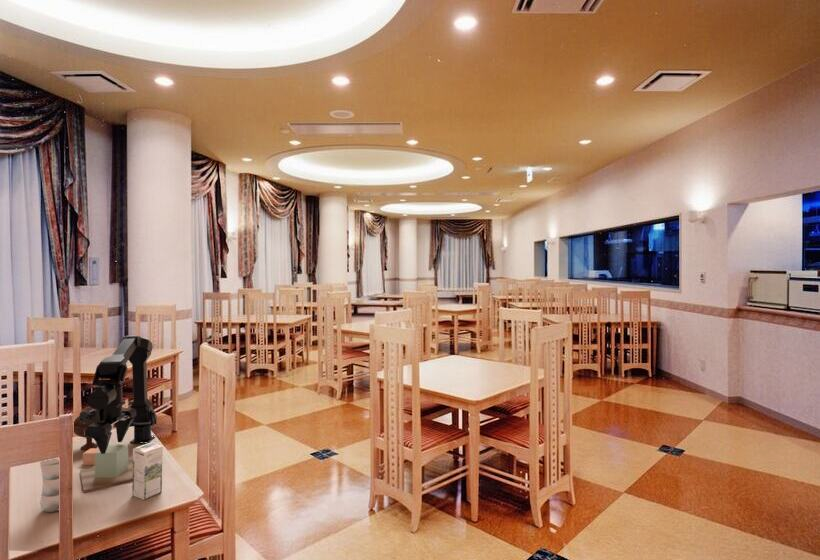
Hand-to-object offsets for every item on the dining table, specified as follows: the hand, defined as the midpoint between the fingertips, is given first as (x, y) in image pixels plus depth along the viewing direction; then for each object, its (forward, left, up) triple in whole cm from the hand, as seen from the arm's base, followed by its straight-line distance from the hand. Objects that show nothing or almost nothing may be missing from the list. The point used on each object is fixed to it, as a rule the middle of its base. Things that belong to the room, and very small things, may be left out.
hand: (111, 447), depth 148 cm
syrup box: (+12, +17, -9) cm, 23 cm away
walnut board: (0, 0, -9) cm, 9 cm away
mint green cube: (0, 0, -8) cm, 8 cm away
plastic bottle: (+20, -4, -9) cm, 22 cm away
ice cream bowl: (-22, -21, -9) cm, 32 cm away
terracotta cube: (-10, -12, -9) cm, 18 cm away
